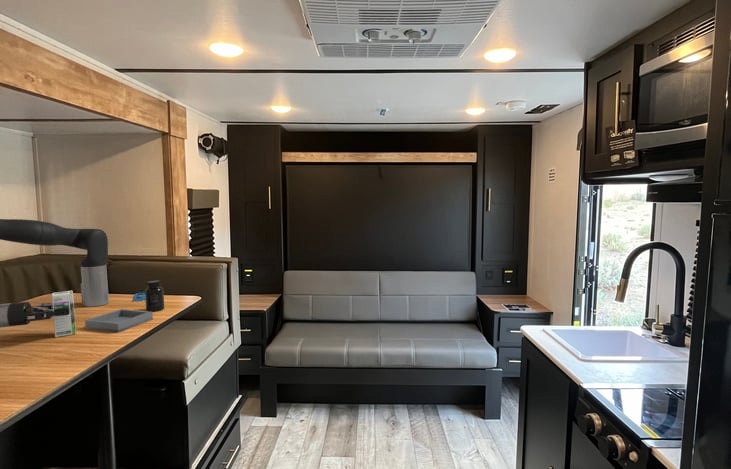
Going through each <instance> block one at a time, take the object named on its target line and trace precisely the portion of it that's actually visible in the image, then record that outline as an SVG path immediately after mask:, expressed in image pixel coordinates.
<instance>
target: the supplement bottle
mask: <svg viewBox="0 0 731 469" xmlns="http://www.w3.org/2000/svg"><path fill="white" fill-rule="evenodd" d="M146 284H147V285H146V287H147V288H146V289H145V290H144V293H145V300H144V301H145V311H149V312H152V313H155V312H159V311H160V312H161V311H163V310H164V309H165V295H164V293H165V292H164V288H163V287H162V286H161V280H149V281H146Z"/></svg>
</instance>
